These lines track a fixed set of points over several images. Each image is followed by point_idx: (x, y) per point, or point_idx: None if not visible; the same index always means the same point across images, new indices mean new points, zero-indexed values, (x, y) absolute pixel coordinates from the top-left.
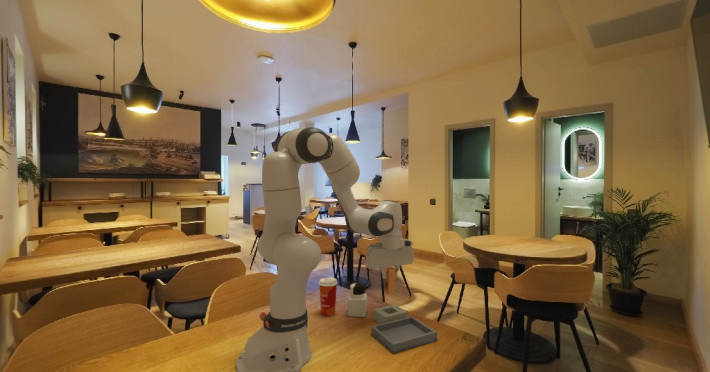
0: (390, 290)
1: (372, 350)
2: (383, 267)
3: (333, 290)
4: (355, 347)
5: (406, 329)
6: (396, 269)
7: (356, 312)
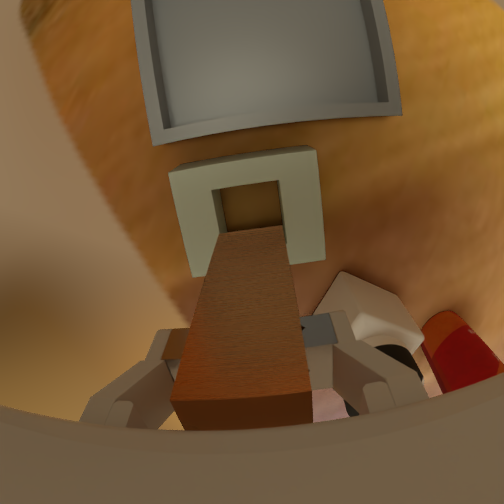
0: (262, 241)
1: (420, 17)
2: (443, 395)
3: (484, 373)
4: (463, 64)
5: (224, 78)
6: (143, 401)
7: (377, 292)
